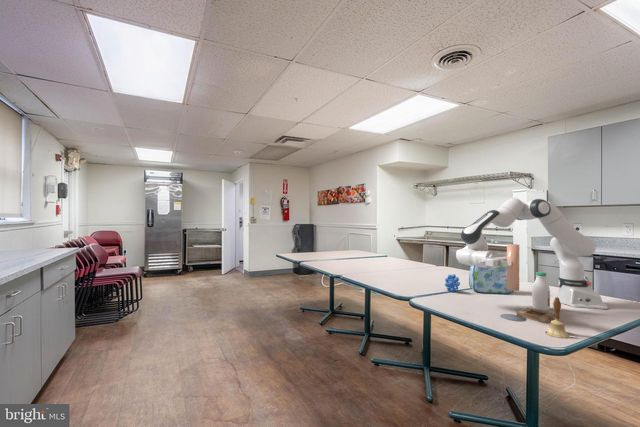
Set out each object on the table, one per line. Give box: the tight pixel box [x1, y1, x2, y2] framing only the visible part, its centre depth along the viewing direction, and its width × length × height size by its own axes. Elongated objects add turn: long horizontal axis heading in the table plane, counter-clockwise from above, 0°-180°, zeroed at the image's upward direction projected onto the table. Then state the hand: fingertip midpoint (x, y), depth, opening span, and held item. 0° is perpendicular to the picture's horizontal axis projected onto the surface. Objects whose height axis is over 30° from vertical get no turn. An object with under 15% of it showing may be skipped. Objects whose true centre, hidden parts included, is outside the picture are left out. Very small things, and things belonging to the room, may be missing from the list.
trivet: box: [499, 313, 528, 323], centre depth 150 cm, size 11×11×1 cm
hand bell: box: [544, 296, 570, 339], centre depth 131 cm, size 8×8×16 cm
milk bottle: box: [531, 271, 551, 311], centre depth 166 cm, size 8×8×20 cm
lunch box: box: [468, 265, 514, 295], centre depth 202 cm, size 26×11×21 cm, turn 81°
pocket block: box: [516, 307, 555, 324], centre depth 150 cm, size 12×12×3 cm
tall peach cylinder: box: [506, 243, 520, 292], centre depth 150 cm, size 5×5×22 cm
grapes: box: [444, 273, 461, 293], centre depth 203 cm, size 12×7×12 cm, turn 26°
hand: (515, 263), depth 149 cm, fingers closed on tall peach cylinder, 5 cm apart
